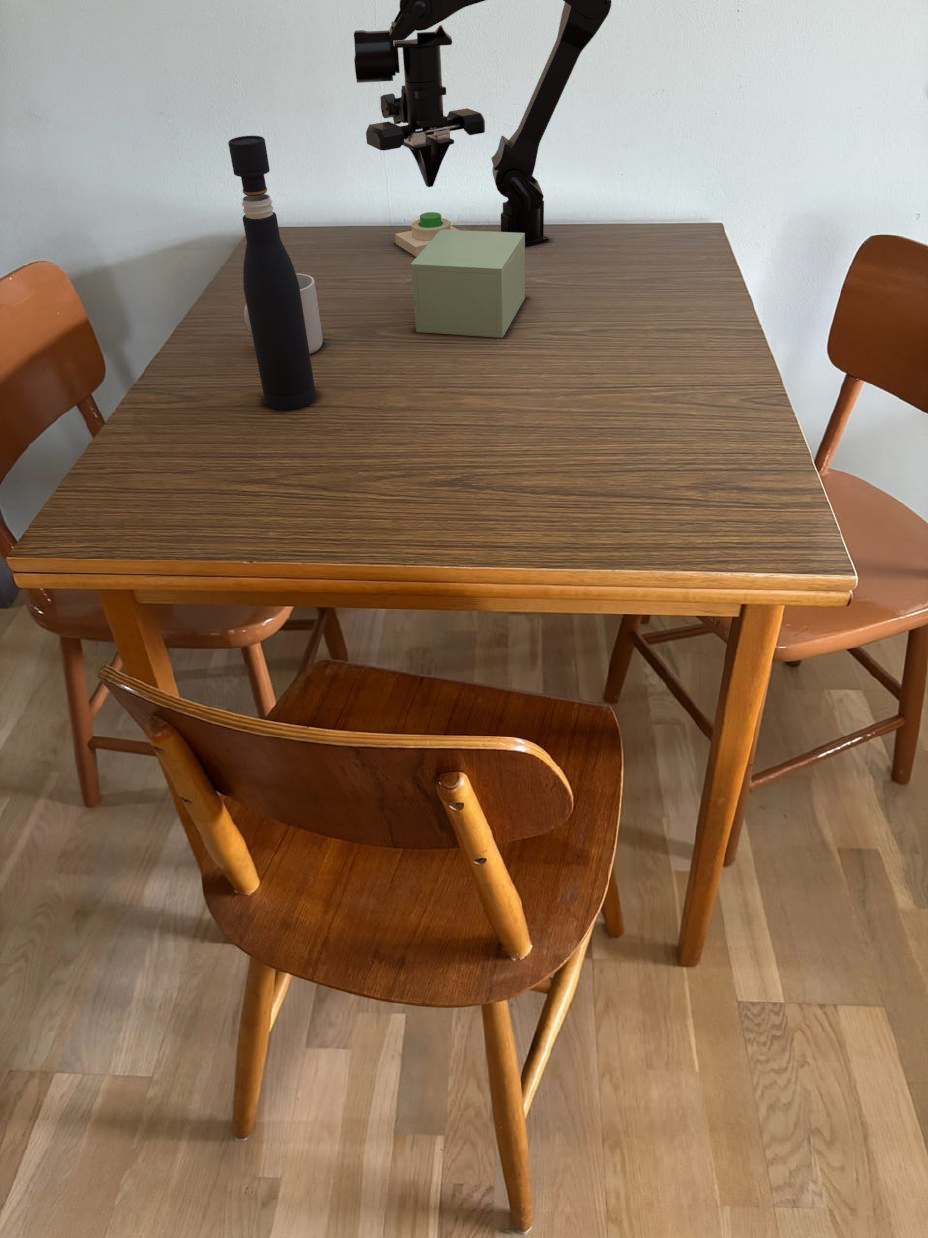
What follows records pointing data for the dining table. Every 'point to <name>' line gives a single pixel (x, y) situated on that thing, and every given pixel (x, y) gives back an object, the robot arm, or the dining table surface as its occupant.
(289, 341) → the black insulated water bottle
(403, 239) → the control block
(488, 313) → the sage green box
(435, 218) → the button
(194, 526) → the dining table surface
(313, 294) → the cup
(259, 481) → the dining table surface
